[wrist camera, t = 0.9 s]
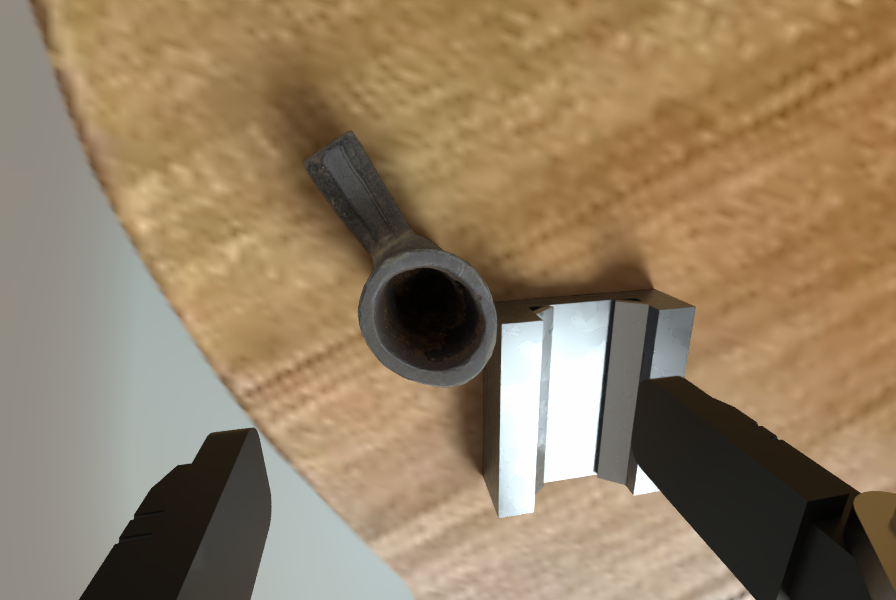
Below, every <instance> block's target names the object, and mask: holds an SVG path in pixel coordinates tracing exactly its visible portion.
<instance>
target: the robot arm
mask: <svg viewBox="0 0 896 600" xmlns="http://www.w3.org/2000/svg"><path fill="white" fill-rule="evenodd" d="M631 446H632V451H633V455H634V457H635V460H636V462H637V464H638V465H639V467H640V468H641V470H642V471H643V472H644V473H645V474H646V475H647V476H648V478H649V479H650V480H651V481H652V482H653V483H654V484H655V486H656V487H657V488H658V489H659V490H660V491H661V492H662V493H663V495H664V496H665V497H666V498H667V499H668V500H669V501H670V503H671V504H672V505H673V506H674V507H675V508H676V509H677V511H678V512H679V513H680V514H681V515H682V516H683V517H684V519H685V520H686V521H687V522H688V523H689V524H690V525H691V526H692V528H693V529H694V530H695V531H696V532H697V533H698V534H699V536H700V537H701V538H702V539H703V540H704V541H705V542H706V544H707V545H708V546H709V547H710V548H711V549H712V550H713V551H714V553H715V554H716V555H717V556H718V557H719V558H720V559H721V561H722V562H723V563H724V564H725V565H726V566H727V567H728V569H729V570H730V571H731V572H732V573H733V574H734V575H735V577H736V578H737V579H738V580H739V581H740V582H741V583H742V584H743V586H744V587H745V588H746V589H747V590H748V591H749V592H750V594H751V595H752V596H753V597H754V598H755V599H756V600H896V494H895V493H890V492H882V491H869V492H864V493H860V492H858V491H857V490H855V489H854V488H853V487H851V486H850V485H848V484H847V483H845V482H844V481H842V480H841V479H839V478H838V477H836V476H835V475H833V474H832V473H830V472H829V471H828V470H826V469H825V468H823V467H822V466H820V465H819V464H817V463H816V462H814V461H813V460H811V459H810V458H808V457H807V456H806V455H804V454H803V453H801V452H800V451H798V450H797V449H795V448H794V447H792V446H791V445H789V444H788V443H786V442H785V441H783V440H778V439H777V436H776V435H775V434H773V433H772V432H770V431H769V430H767V429H766V428H764V427H763V426H758V425H757V422H756V421H754V420H753V419H751V418H750V417H748V416H747V415H745V414H744V413H742V412H741V411H739V410H738V409H736V408H735V407H733V406H731V405H728V404H726V403H724V402H721V401H719V400H717V399H715V398H712V397H711V396H709V395H708V394H706V393H705V392H704V391H702V390H701V389H699V388H698V387H696V386H695V385H693V384H692V383H691V382H689V381H688V380H686V379H685V378H683V377H681V376H669V377H661V378H653V379H646V380H643V381H642V382H641V383H640V385H639V387H638V392H637V399H636V407H635V414H634V421H633V429H632V436H631ZM270 520H271V492H270V487H269V482H268V477H267V472H266V467H265V463H264V458H263V453H262V448H261V443H260V438H259V435H258V432H257V430H256V429H255V428H245V429H237V430H229V431H221V432H213V433H210V434H209V435H208V436H207V438H206V440H205V441H204V443H203V445H202V447H201V448H200V450H199V452H198V454H197V455H196V457H195V459H194V461H193V462H192V464H184V465H178V466H176V467H175V468H174V469H173V470H172V471H171V472H170V473H168V474H167V475H166V476H165V477H164V478H163V479H162V480H161V481H160V482H158V483H157V484H156V485H155V486H153V487H152V488H151V490H150V491H149V492H148V494H147V496H146V497H145V499H144V500H143V502H142V503H141V505H140V506H139V508H138V510H137V511H136V513H135V514H134V520H130V522H129V523H128V525H127V526H126V528H125V529H124V531H123V533H122V534H121V536H120V537H119V543H118V544H115V545H114V546H113V548H112V549H111V551H110V553H109V554H108V556H107V557H106V559H105V560H104V562H103V563H102V565H101V567H100V568H99V570H98V571H97V573H96V574H95V576H94V577H93V579H92V581H91V582H90V584H89V585H88V587H87V588H86V590H85V591H84V593H83V594H82V596H81V597H80V599H79V600H250V599H251V595H252V592H253V588H254V584H255V580H256V576H257V573H258V568H259V565H260V561H261V557H262V553H263V550H264V545H265V541H266V538H267V534H268V530H269V526H270Z"/></svg>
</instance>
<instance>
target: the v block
mask: <svg viewBox="0 0 896 600" xmlns="http://www.w3.org/2000/svg"><path fill="white" fill-rule="evenodd" d="M494 305H495V309H496V315H497V335H496V343H495V347H494V350H493V353H492V356H491V357H490V359H489V360H488V362H487V363H486V365H485V366H484V378H483V478H484V480H485V483H486V486H487V489H488V491H489V494H490V497H491V499H492V502H493V505H494V507H495V510H496V513H497V515H498V518H502V517H508V516H514V515H520V514H525V513H531V512H534V497H535V494H536V493H537V492H538V491H539V490H540V489H541V488H542V487H543V486H544V482H550V481H557V480H563V479H569V478H576V477H582V476H588V475H595V474H598V475H597V478H601V479H605V480H609V481H612V482H616V483H620V484H624V485H626V486H627V488H628V489H629V490H630V491H631V493H632V494H633V495H638V494H644V493H650V492H656V491H660V490H659V489H658V488H657V487H656V486H655V484H654V483H653V482H652V481H651V480H650V479H649V478H648V476H647V475H646V474H645V473H644V472H643V471H642V470H641V468H640V467H639V465H638V464H637V462H636V460H635V457H634V455H633V451H632V446H631V436H632V429H633V421H634V414H635V407H636V399H637V392H638V387H639V385H640V383H641V382H642V381H643V380H646V379H653V378H661V377H669V376H681V377H683V378H684V374H685V369H686V363H687V357H688V351H689V345H690V339H691V333H692V327H693V321H694V315H695V309H696V307H695V306H693V305H690V304H688V303H686V302H684V301H681V300H679V299H677V298H674V297H672V296H670V295H667V294H665V293H663V292H660V291H658V290H656V289H649V290H636V291H624V292H612V293H599V294H587V295H575V296H562V297H550V298H538V299H526V300H513V301H501V302H494Z"/></svg>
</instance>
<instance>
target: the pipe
mask: <svg viewBox="0 0 896 600" xmlns="http://www.w3.org/2000/svg"><path fill="white" fill-rule="evenodd" d="M303 163H304V167H305V169H306V170H307V172H308V174H309V176H310V177H311V179H312V180H313V181H314V183H315V184H316V186H317V187H318V189H319V190H320V191H321V193H322V194H323V195H324V197H325V198H326V199H327V201H328V202H329V204H330V205H331V206H332V208H333V209H334V210H335V212H336V213H337V215H338V216H339V217H340V219H341V220H342V221H343V222H344V223H345V225H346V226H347V227H348V229H349V230H350V231H351V232H352V233H353V235H354V236H355V237H356V238H357V239H358V240H359V242H360V243H361V244H362V245H363V247H364V248H365V249H366V250H367V252H368V253H369V254H370V255H371V256H372V258H373V261H374V262H373V272H372V273H371V275H370V276H369V278H368V280H367V282H366V283H365V285H364V288H363V290H362V293H361V297H360V301H359V306H358V318H359V325H360V329H361V332H362V335H363V337H364V339H365V341H366V343H367V345H368V347H369V348H370V349H371V351H372V352H373V353H374V355H375V356H376V357H377V358H378V360H379V361H380V362H381V363H382V364H383V365H384V366H385V367H387V368H388V369H390V370H392V371H393V372H395V373H397V374H398V375H400V376H402V377H403V378H406V379H408V380H411V381H415V382H418V383H422V384H426V385H431V386H437V387H443V388H444V387H452V386H461V385H463V384H466V383H468V381H470V380H471V379H473V378H475V377H476V376H477V375H478V374H479V373H480V372H481V371H482V369H483V368H484V366H485V365H486V363H487V362H488V360H489V359H490V357H491V356H492V353H493V350H494V347H495V343H496V335H497V315H496V309H495V305H494V302H493V300H492V296H491V293H490V291H489V288H488V286H487V285H486V283H485V282H484V280H483V279H482V277H481V276H480V274H479V273H478V272H477V271H476V270H475V269H474V268H473V267H472V266H471V265H470V264H469V263H467V262H466V261H464V260H463V259H461V258H459V257H457V256H456V255H454V254H451V253H448V252H446V251H444V250H442V249H441V248H440V247H439V246H437V245H436V244H435V243H434V242H432V241H431V240H429V239H427V238H425V237H423V236H420V235H417V234H414V232H413V231H412V229H411V228H410V226H409V225H408V223H407V222H406V220H405V218H404V217H403V215H402V213H401V212H400V210H399V208H398V207H397V205H396V203H395V202H394V200H393V198H392V196H391V195H390V193H389V191H388V189H387V188H386V186H385V184H384V183H383V181H382V179H381V178H380V176H379V175H378V173H377V171H376V169H375V168H374V166H373V164H372V163H371V161H370V159H369V157H368V156H367V154H366V152H365V150H364V149H363V147H362V145H361V144H360V142H359V140H358V139H357V137H356V136H355V134H354V133H353V132H352V131H348V132H346V133H344V134H343V135H341V136H339V137H337V138H336V139H334V140H333V141H332V142H330V143H329V144H327V145H326V146H325V147H323V148H321V149H320V150H318V151H317V152H315V153H314V154H312V155H311V156H310V157H308V158H307V159H306V160H304V161H303Z"/></svg>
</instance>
